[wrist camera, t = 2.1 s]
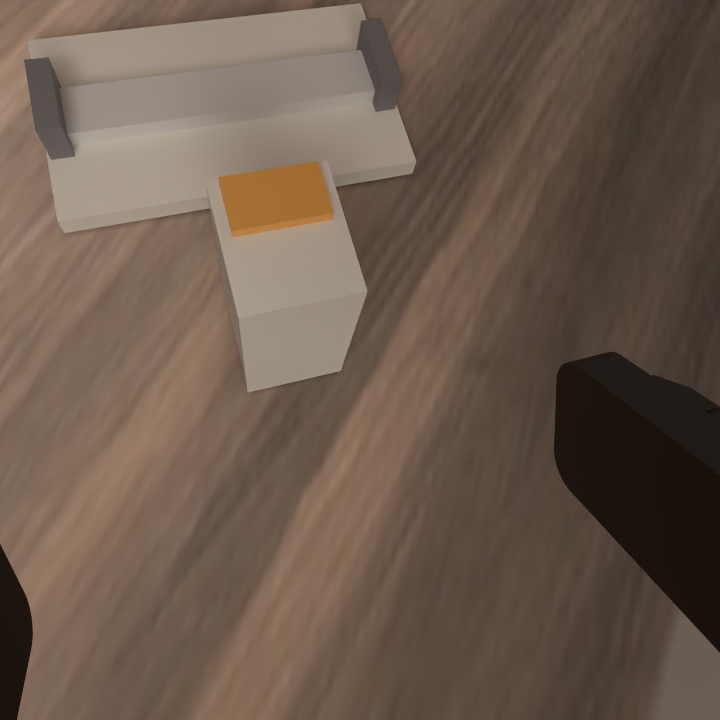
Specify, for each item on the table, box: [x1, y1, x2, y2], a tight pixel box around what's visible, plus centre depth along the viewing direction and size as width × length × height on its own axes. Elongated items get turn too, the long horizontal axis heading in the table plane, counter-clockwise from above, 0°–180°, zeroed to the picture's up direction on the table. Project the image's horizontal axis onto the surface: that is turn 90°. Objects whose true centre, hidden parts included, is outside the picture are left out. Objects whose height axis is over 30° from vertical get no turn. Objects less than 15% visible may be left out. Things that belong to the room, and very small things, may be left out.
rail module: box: [205, 161, 367, 392], centre depth 30 cm, size 5×6×11 cm
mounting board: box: [24, 3, 416, 233], centre depth 37 cm, size 20×12×4 cm, turn 106°
